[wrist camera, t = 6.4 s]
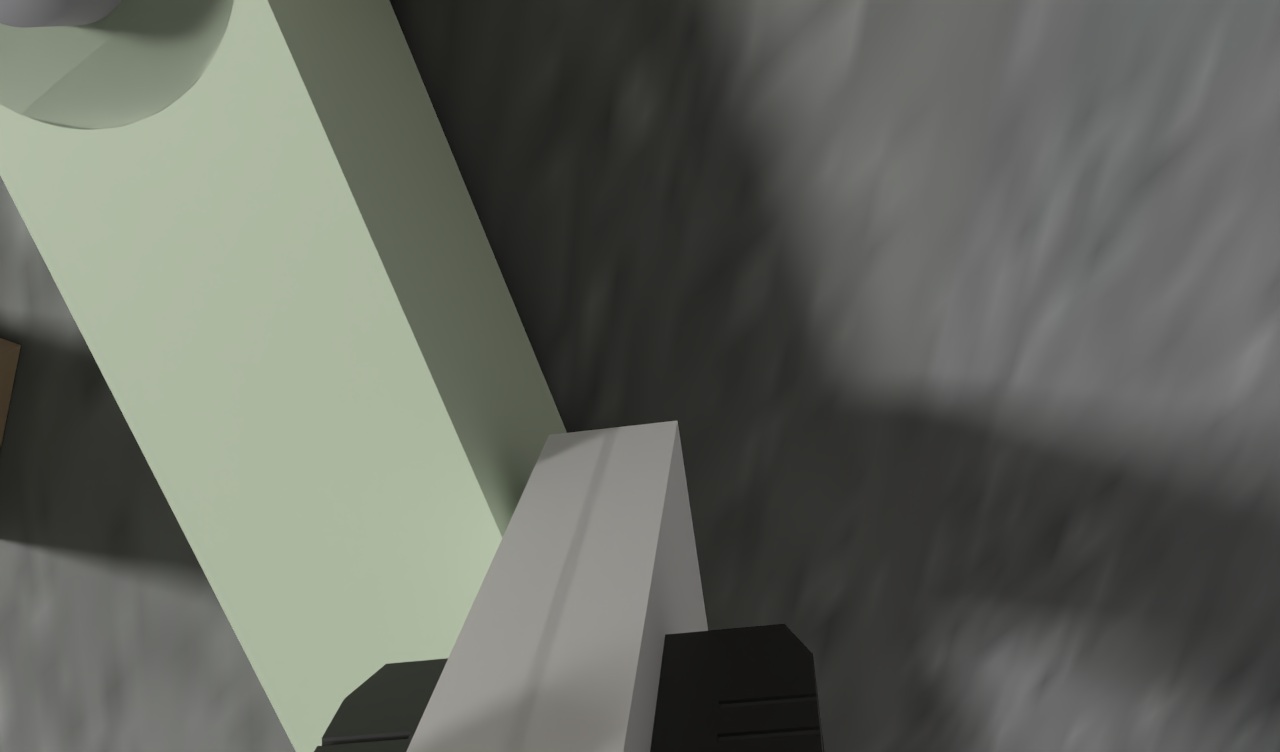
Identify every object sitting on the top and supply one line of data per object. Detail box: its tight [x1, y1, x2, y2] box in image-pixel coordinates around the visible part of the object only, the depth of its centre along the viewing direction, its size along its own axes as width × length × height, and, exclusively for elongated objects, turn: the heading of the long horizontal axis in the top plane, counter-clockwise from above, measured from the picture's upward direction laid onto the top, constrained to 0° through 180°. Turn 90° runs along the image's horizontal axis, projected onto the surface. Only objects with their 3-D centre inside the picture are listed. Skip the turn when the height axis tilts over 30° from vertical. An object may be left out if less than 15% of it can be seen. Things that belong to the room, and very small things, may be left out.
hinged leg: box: [0, 0, 567, 752], centre depth 13 cm, size 12×3×5 cm, turn 21°
